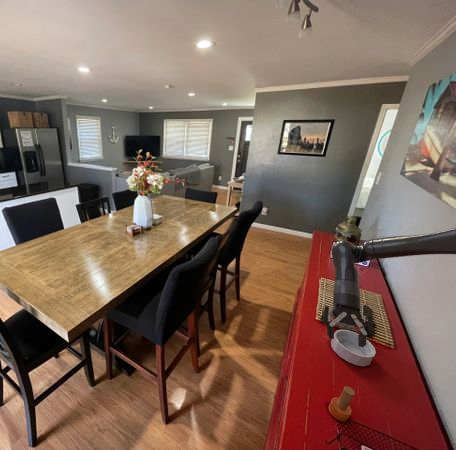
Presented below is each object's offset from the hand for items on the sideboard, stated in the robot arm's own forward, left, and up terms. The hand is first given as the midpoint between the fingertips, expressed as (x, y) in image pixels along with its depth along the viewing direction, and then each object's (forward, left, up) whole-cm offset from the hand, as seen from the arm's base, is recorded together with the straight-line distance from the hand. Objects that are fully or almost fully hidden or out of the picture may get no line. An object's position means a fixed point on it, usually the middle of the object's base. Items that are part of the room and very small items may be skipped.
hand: (346, 342), depth 80 cm
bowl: (+7, -19, -18) cm, 27 cm away
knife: (+20, -45, -19) cm, 53 cm away
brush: (-10, +7, -18) cm, 22 cm away
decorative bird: (+19, -28, -19) cm, 39 cm away
